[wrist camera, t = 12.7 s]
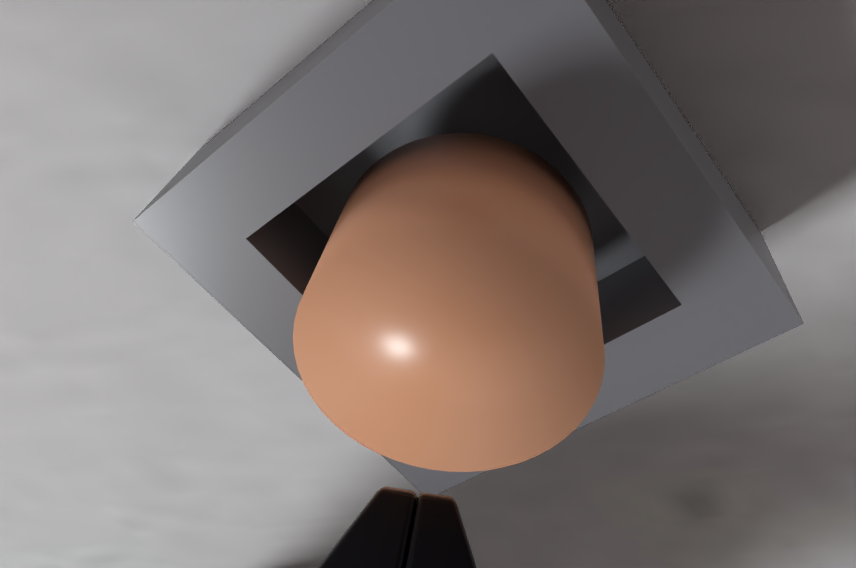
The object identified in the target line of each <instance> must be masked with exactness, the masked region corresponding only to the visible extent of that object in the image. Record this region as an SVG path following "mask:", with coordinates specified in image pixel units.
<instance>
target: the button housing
mask: <svg viewBox="0 0 856 568" xmlns="http://www.w3.org/2000/svg"><path fill="white" fill-rule="evenodd" d="M453 133H468V134H481V135H486V136H491V137H495V138H500V139H503V140H506V141H509V142H512V143H514V144H517V145H519V146H521V147H523V148H525V149H527V150H529V151H531V152H533V153H535V154H536V155H538V156H539V157H541V158H542V159H544V160H545V161H547V162H548V163H549V164H550V165H552V166H553V167H554V168H555V169H556V170H557V171H559V172H560V173H561V174H562V176H563V177H564V178H565V179H566V180H567V181H568V182H569V183H570V185H571V186H572V187H573V189H574V190H575V192H576V193H577V195H578V196H579V198H580V200H581V202H582V204H583V206H584V208H585V210H586V213H587V215H588V219H589V222H590V226H591V230H592V237H593V245H594V255H595V264H596V274H597V284H598V293H599V303H600V313H601V322H602V332H603V341H604V351H605V362H604V374H603V379H602V383H601V387H600V390H599V392H598V395H597V398H596V400H595V402H594V404H593V406H592V407H591V409H590V411H589V412H588V414H587V416H586V417H585V418H584V419H583V421H582V422H581V423H580V424H579V425H578V427H577V428H576V429H578V428H580V427H582V426H585V425H587V424H589V423H591V422H593V421H595V420H597V419H600V418H602V417H604V416H606V415H608V414H610V413H612V412H615V411H617V410H619V409H621V408H623V407H625V406H627V405H630V404H632V403H634V402H636V401H638V400H640V399H642V398H645V397H647V396H649V395H651V394H653V393H655V392H657V391H660V390H662V389H664V388H666V387H668V386H670V385H672V384H675V383H677V382H679V381H681V380H683V379H685V378H687V377H690V376H692V375H694V374H696V373H698V372H700V371H702V370H705V369H707V368H709V367H711V366H713V365H715V364H717V363H720V362H722V361H724V360H726V359H728V358H730V357H732V356H735V355H737V354H739V353H741V352H743V351H745V350H747V349H750V348H752V347H754V346H756V345H758V344H760V343H762V342H765V341H767V340H769V339H771V338H773V337H775V336H778V335H780V334H782V333H784V332H786V331H788V330H790V329H793V328H795V327H797V326H799V325H801V324H803V321H802V319H801V317H800V315H799V313H798V310H797V308H796V306H795V304H794V302H793V300H792V298H791V296H790V294H789V291H788V289H787V287H786V285H785V283H784V281H783V279H782V277H781V275H780V272H779V270H778V268H777V266H776V264H775V262H774V260H773V258H772V256H771V253H770V251H769V249H768V247H767V245H766V243H765V241H764V239H763V237H762V234H761V233H760V231H759V230H758V228H757V227H756V225H755V224H754V222H753V221H752V219H751V218H750V216H749V215H748V213H747V212H746V210H745V209H744V207H743V206H742V204H741V203H740V201H739V200H738V198H737V196H736V195H735V193H734V192H733V190H732V189H731V187H730V186H729V184H728V183H727V181H726V180H725V178H724V177H723V175H722V174H721V172H720V171H719V169H718V168H717V166H716V165H715V163H714V162H713V160H712V159H711V157H710V156H709V154H708V153H707V151H706V150H705V148H704V147H703V145H702V144H701V142H700V141H699V139H698V138H697V136H696V135H695V133H694V132H693V130H692V129H691V127H690V126H689V124H688V123H687V121H686V120H685V118H684V117H683V115H682V114H681V112H680V111H679V109H678V108H677V106H676V105H675V103H674V102H673V100H672V99H671V97H670V96H669V94H668V93H667V91H666V90H665V88H664V87H663V85H662V84H661V82H660V81H659V79H658V78H657V76H656V75H655V73H654V72H653V70H652V69H651V67H650V66H649V64H648V63H647V61H646V60H645V58H644V57H643V55H642V54H641V52H640V51H639V49H638V48H637V46H636V45H635V43H634V42H633V40H632V39H631V37H630V36H629V34H628V33H627V31H626V30H625V28H624V27H623V25H622V24H621V22H620V21H619V19H618V18H617V16H616V15H615V13H614V12H613V10H612V9H611V7H610V6H609V4H608V3H607V1H606V0H373V1H372V2H370V3H369V4H368V5H367V6H366V7H365V8H363V9H362V10H361V11H360V12H359V13H358V14H357V15H355V16H354V17H353V18H352V19H351V20H350V21H348V22H347V23H346V24H345V25H344V26H343V27H341V28H340V29H339V30H338V31H337V32H336V33H334V34H333V35H332V36H331V37H330V38H329V39H327V40H326V41H325V42H324V43H323V44H322V45H320V46H319V47H318V48H317V49H316V50H315V51H314V52H312V53H311V54H310V55H309V56H308V57H307V58H305V59H304V60H303V61H302V62H301V63H300V64H298V65H297V66H296V67H295V68H294V69H293V70H291V71H290V72H289V73H288V74H287V75H286V76H284V77H283V78H282V79H281V80H280V81H279V82H278V83H276V84H275V85H274V86H273V87H272V88H271V89H269V90H268V91H267V92H266V93H265V94H264V95H262V96H261V97H260V98H259V99H258V100H257V101H255V102H254V103H253V104H252V105H251V106H250V107H248V108H247V109H246V110H245V111H244V112H243V113H242V114H240V115H239V116H238V117H237V118H236V119H235V120H233V121H232V122H231V123H230V124H229V125H228V126H226V127H225V128H224V129H223V130H222V131H221V132H219V133H218V134H217V135H216V136H215V137H214V138H212V139H211V140H210V141H209V142H208V143H207V144H206V145H204V146H203V147H202V148H201V149H200V150H199V151H198V152H197V153H196V154H195V155H194V156H193V157H192V158H191V159H190V160H189V161H188V162H187V163H186V164H185V166H184V167H183V168H182V169H181V170H180V171H179V172H178V173H177V174H176V175H175V176H174V177H173V178H172V180H171V181H170V182H169V183H168V184H167V185H166V186H165V187H164V188H163V189H162V190H161V191H160V192H159V194H158V195H157V196H156V197H155V198H154V199H153V200H152V201H151V202H150V203H149V204H148V205H147V207H146V208H145V209H144V210H143V211H142V212H141V213H140V214H139V215H138V216H137V217H136V218H135V219H134V221H133V222H134V223H135V224H136V225H137V226H138V227H139V228H140V229H141V230H142V231H143V232H144V233H145V234H146V235H147V236H148V237H150V238H151V239H152V240H153V241H154V242H155V243H156V244H157V245H158V246H159V247H160V248H161V249H162V250H163V251H164V252H166V253H167V254H168V255H169V256H170V257H171V258H172V259H173V260H174V261H175V262H176V263H177V264H178V265H179V266H180V267H181V268H183V269H184V270H185V271H186V272H187V273H188V274H189V275H190V276H191V277H192V278H193V279H194V280H195V281H196V282H197V283H199V284H200V285H201V286H202V287H203V288H204V289H205V290H206V291H207V292H208V293H209V294H210V295H211V296H212V297H213V298H214V299H216V300H217V301H218V302H219V303H220V304H221V305H222V306H223V307H224V308H225V309H226V310H227V311H228V312H229V313H230V314H232V315H233V316H234V317H235V318H236V319H237V320H238V321H239V322H240V323H241V324H242V325H243V326H244V327H245V328H246V329H247V330H249V331H250V332H251V333H252V334H253V335H254V336H255V337H256V338H257V339H258V340H259V341H260V342H261V343H262V344H263V345H265V346H266V347H267V348H268V349H269V350H270V351H271V352H272V353H273V354H274V355H275V356H276V357H277V358H278V359H279V360H281V361H282V362H283V363H284V364H285V365H286V366H287V367H288V368H289V369H290V370H291V371H292V372H293V373H294V374H295V375H296V376H298V377H299V378H300V379H301V380H302V378H301V376H300V373H299V371H298V368H297V364H296V359H295V355H294V347H293V329H294V320H295V316H296V312H297V308H298V305H299V303H300V301H301V298H302V296H303V294H304V291H305V289H306V287H307V285H308V283H309V281H310V279H311V276H312V274H313V272H314V270H315V268H316V266H317V264H318V262H319V259H320V257H321V255H322V253H323V251H324V249H325V247H326V244H327V242H328V240H329V238H330V236H331V234H332V232H333V229H334V227H335V225H336V223H337V221H338V219H339V217H340V214H341V212H342V210H343V208H344V206H345V204H346V202H347V199H348V197H349V195H350V193H351V191H352V190H353V188H354V187H355V185H356V184H357V182H358V180H359V179H360V178H361V177H362V176H363V175H364V173H365V172H366V171H367V170H368V169H369V168H370V167H371V166H372V165H374V164H375V163H376V162H377V161H378V160H379V159H381V158H382V157H383V156H385V155H387V154H388V153H390V152H391V151H393V150H394V149H396V148H399V147H401V146H403V145H405V144H407V143H410V142H412V141H415V140H419V139H422V138H425V137H430V136H435V135H441V134H453ZM576 429H575V430H576ZM382 456H383V455H382ZM383 457H384V458H385V459H386V460H387V461H388V462H389V463H390V464H391V465H392V466H393V467H394V468H396V469H397V470H398V471H399V472H400V473H401V474H402V475H403V476H404V477H405V478H406V479H407V480H408V481H409V482H410V483H411V484H413V485H414V486H415V487H416V488H417V489H418V490H419V491H420V492H421V493H429V494H436V495H437V494H439V493H441V492H443V491H445V490H447V489H449V488H452V487H454V486H456V485H458V484H460V483H462V482H464V481H467V480H469V479H471V478H473V477H475V476H477V475H479V474H482V473H484V472H486V471H488V470H486V471H474V472H448V471H439V470H431V469H426V468H421V467H416V466H412V465H408V464H405V463H402V462H399V461H396V460H393V459H390V458H388V457H386V456H383Z"/></svg>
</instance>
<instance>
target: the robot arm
mask: <svg viewBox="0 0 856 568" xmlns="http://www.w3.org/2000/svg"><path fill="white" fill-rule="evenodd" d="M318 568H477V567H476V564H475V561H474V558H473V554H472V551H471V548H470V545H469V542H468V539H467V535H466V532H465V529H464V526H463V523H462V519H461V516H460V513H459V510H458V507H457V504H456V502H455V500H454V499H453V498H451V497H449V496H442V495H436V494H429V493H422V494H420V495H419V496H418V498H417V496H416V494H415V493H414V492H413V491H410V490H403V489H397V488H390V487H383V488H381V489H380V490H379V491H378V492H377V493H376V494H375V495H374V496H373V498H372V499H371V500H370V502H369V503H368V504H367V505H366V507H365V508H364V509H363V511H362V512H361V513H360V515H359V516H358V517H357V518H356V520H355V521H354V522H353V524H352V525H351V526H350V527H349V529H348V530H347V531H346V533H345V534H344V535H343V536H342V538H341V539H340V540H339V542H338V543H337V544H336V545H335V547H334V548H333V549H332V551H331V552H330V553H329V554H328V556H327V557H326V558H325V560H324V561H323V562H322V563H321V565H320V566H319V567H318Z"/></svg>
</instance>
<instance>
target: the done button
mask: <svg viewBox="0 0 856 568" xmlns="http://www.w3.org/2000/svg"><path fill="white" fill-rule="evenodd" d="M293 347H294V355H295V359H296V364H297V368H298V371H299V373H300V376H301V378H302V381H303V383H304V385H305V387H306V389H307V390H308V392H309V394H310V396H311V397H312V399H313V400H314V402H315V403H316V404H317V405H318V407H319V408H320V409H321V411H322V412H323V413H324V414H325V415H326V416H327V417H328V418H329V419H330V420H331V421H332V422H333V423H334V424H335V425H336V426H337V427H338V428H339V429H341V430H342V431H343V432H344V433H345V434H347V435H348V436H350V437H351V438H353V439H354V440H356V441H357V442H359V443H360V444H362V445H363V446H365V447H367V448H369V449H371V450H373V451H375V452H376V453H378V454H381V455H383V456H386V457H388V458H390V459H393V460H396V461H399V462H402V463H405V464H408V465H412V466H416V467H421V468H426V469H431V470H439V471H448V472H474V471H486V470H492V469H498V468H503V467H507V466H511V465H514V464H518V463H521V462H523V461H526V460H528V459H531V458H534V457H536V456H538V455H540V454H542V453H543V452H545V451H547V450H549V449H551V448H552V447H554V446H555V445H557V444H558V443H559V442H561V441H562V440H564V439H565V438H566V437H567V436H568V435H569V434H570V433H571V432H573V431H574V430H575V429H576V428H577V427H578V425H579V424H580V423H581V422H582V421H583V419H584V418H585V417H586V416H587V414H588V412H589V411H590V409H591V407H592V406H593V404H594V402H595V400H596V398H597V395H598V392H599V390H600V387H601V383H602V379H603V374H604V362H605V351H604V341H603V332H602V322H601V313H600V303H599V293H598V284H597V274H596V264H595V255H594V245H593V237H592V230H591V226H590V222H589V219H588V215H587V213H586V210H585V208H584V206H583V204H582V202H581V200H580V198H579V196H578V195H577V193H576V192H575V190H574V189H573V187H572V186H571V185H570V183H569V182H568V181H567V180H566V179H565V178H564V177H563V176H562V174H561V173H560V172H559V171H557V170H556V169H555V168H554V167H553V166H552V165H550V164H549V163H548V162H547V161H545V160H544V159H542V158H541V157H539V156H538V155H536V154H535V153H533V152H531V151H529V150H527V149H525V148H523V147H521V146H519V145H517V144H514V143H512V142H509V141H506V140H503V139H500V138H495V137H491V136H486V135H481V134H468V133H453V134H441V135H435V136H430V137H425V138H422V139H419V140H415V141H412V142H410V143H407V144H405V145H403V146H401V147H399V148H396V149H394V150H393V151H391V152H390V153H388V154H387V155H385V156H383V157H382V158H381V159H379V160H378V161H377V162H376V163H375V164H374V165H372V166H371V167H370V168H369V169H368V170H367V171H366V172H365V173H364V175H363V176H362V177H361V178H360V179H359V180H358V182H357V184H356V185H355V187H354V188H353V190H352V191H351V193H350V195H349V197H348V199H347V202H346V204H345V206H344V208H343V210H342V212H341V214H340V217H339V219H338V221H337V223H336V225H335V227H334V229H333V232H332V234H331V236H330V238H329V240H328V242H327V244H326V247H325V249H324V251H323V253H322V255H321V257H320V259H319V262H318V264H317V266H316V268H315V270H314V272H313V274H312V276H311V279H310V281H309V283H308V285H307V287H306V289H305V291H304V294H303V296H302V298H301V301H300V303H299V305H298V308H297V312H296V316H295V320H294V329H293Z"/></svg>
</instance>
